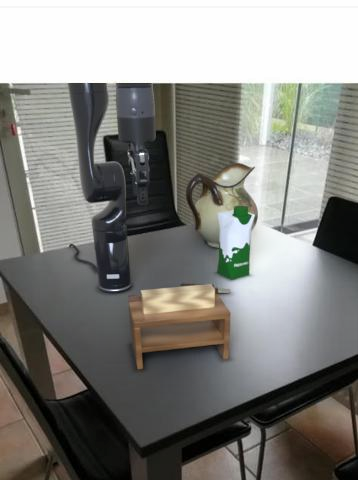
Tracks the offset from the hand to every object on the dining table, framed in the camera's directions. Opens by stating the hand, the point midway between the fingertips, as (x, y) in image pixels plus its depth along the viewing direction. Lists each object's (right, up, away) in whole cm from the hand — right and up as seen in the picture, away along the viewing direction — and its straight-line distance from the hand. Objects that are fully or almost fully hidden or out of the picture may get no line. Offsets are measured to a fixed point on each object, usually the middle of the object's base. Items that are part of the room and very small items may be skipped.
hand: (140, 199), depth 104 cm
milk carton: (+25, -6, +43) cm, 50 cm away
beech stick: (+8, -24, -3) cm, 25 cm away
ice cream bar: (+15, -14, +31) cm, 38 cm away
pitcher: (+24, +10, +67) cm, 72 cm away
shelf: (+8, -33, +4) cm, 34 cm away
